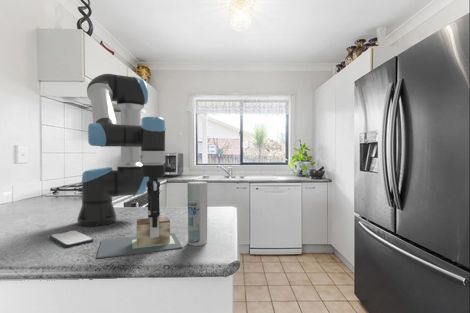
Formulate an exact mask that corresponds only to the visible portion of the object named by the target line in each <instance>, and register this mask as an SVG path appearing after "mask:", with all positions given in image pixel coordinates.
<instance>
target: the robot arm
mask: <svg viewBox="0 0 470 313" xmlns="http://www.w3.org/2000/svg"><path fill="white" fill-rule="evenodd" d="M86 95H87V97H88V100H89V101H90V105H91V113H92V121H93V123H89V124H88V128H87V139H88V140H87V141H88V144H89V146H92V147H101V148H102V147H120V163H118V164H117V166H116V169H114V170H113V167H111V166H107V167H98V168H93V169H92V168H91V169H88V170H87V169H86V170H85V171H83V172H82V175H81V176H82V177H81V187H82V188H81V193H82V194H81V207H80V210H79V213H78V216H77V219H76V220H77V226H81V227H98V226H105V225H110V224H113V223H115V222H116V221H117V219H118V218H117V214H116V211H115V207H114V205H113V198H114V197H123V196H124V197H126V196H127V197H128V196H139V195H143V194H144V193H145V192H146V191H147V192H146V193H147V218H150V238H154V237H159V217H161V216H160V215H161V212H160V194H161V193H160V192H161V190H160V189H161V188H160V187H161V182H160V181H159V177H164V176H165V175H166V166H165V165H164V164H165V163H166V122H165V119H164V118H163V117H160V116H144V117H142V118H141V116H142V115H141V113H142V112H141V111H142V110H143V109H144V108H145V105H147V104H148V102H149V90H148V85H147V83H146V81H145V79H143V78H139V77H136V76H127V75H120V74H115V73H114V74H113V73H103V74H99V75H97V76H96V77H94V78H93V79H92V80H90V81H89V83H88V85H87V87H86ZM113 102H116V106H117V107H118V108H119V109H120V124H118V123H117V117H116V114H115V113H116V112H115V110H114V108H115V107H114V105H113Z"/></svg>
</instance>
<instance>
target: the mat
mask: <svg viewBox="0 0 470 313" xmlns="http://www.w3.org/2000/svg"><path fill="white" fill-rule="evenodd" d="M180 249H183V246H182V244H181V242H180V241H179V239H178V237H177V236H176V234H175V232H170V243H162V244H153V245H145V246H137V235H136V236H128V237H116V238H110V239H109V238H107V239H101V242H100V244H99V247H98V251H97V255H96V260H98V259H99V260H100V259H105V258H106V259H107V258H108V259H109V258H114V257H123V256H131V255H139V254H146V253H154V252H155V253H156V252H164V251H173V250H180Z"/></svg>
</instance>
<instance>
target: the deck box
mask: <svg viewBox="0 0 470 313" xmlns="http://www.w3.org/2000/svg"><path fill="white" fill-rule="evenodd" d="M170 233H171V219H170V218H169V217H168V216H159V237H154V238H150V218H148V217H147V218H136V236H137V246H145V245H153V244H162V243H170Z"/></svg>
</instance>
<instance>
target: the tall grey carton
mask: <svg viewBox="0 0 470 313" xmlns="http://www.w3.org/2000/svg"><path fill="white" fill-rule="evenodd" d="M207 242H208V182H207V181H199V180H198V181H188V182H187V244H188V245H189V246H195V247H197V246H198V247H199V246H205V245H206V244H207Z"/></svg>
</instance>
